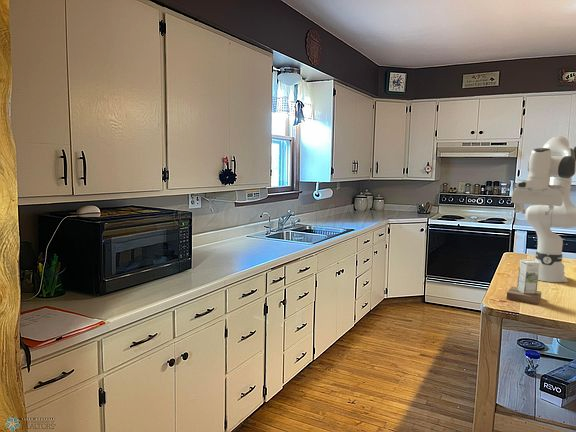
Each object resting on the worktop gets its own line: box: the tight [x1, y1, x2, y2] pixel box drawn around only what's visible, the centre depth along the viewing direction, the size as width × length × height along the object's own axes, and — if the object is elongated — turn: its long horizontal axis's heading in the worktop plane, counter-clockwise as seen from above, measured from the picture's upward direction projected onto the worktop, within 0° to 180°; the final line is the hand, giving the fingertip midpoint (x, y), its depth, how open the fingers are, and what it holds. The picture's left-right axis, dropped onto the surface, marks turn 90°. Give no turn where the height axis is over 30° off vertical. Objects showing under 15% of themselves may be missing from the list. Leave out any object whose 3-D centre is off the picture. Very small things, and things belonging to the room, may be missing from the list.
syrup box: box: [516, 259, 540, 294], centre depth 190 cm, size 6×6×14 cm
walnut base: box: [506, 286, 542, 306], centre depth 191 cm, size 12×12×3 cm
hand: (535, 214), depth 196 cm, fingers open, 8 cm apart
